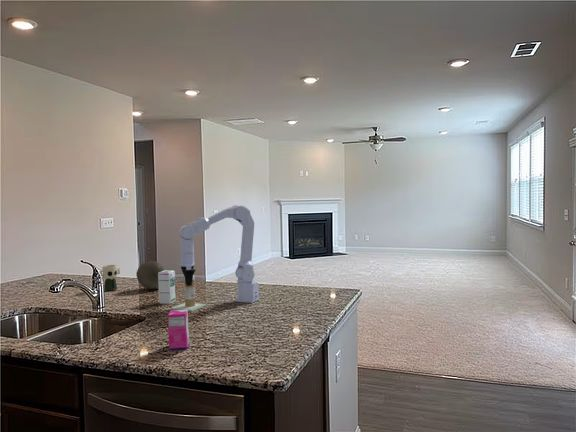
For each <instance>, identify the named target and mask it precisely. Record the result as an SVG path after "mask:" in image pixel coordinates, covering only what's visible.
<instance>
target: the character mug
mask: <svg viewBox="0 0 576 432" xmlns="http://www.w3.org/2000/svg"><path fill="white" fill-rule="evenodd" d="M120 272H121V269H120V267H118V265H117V264H106V265H103V266H102V270H100V271H99V275H100V274H101V276H102V277H103V278H104V279H105V280H104V286H103V289H104V290H105V291H108V290H109V291H114V290H117V289H118V286H117V280H116V278H117V277H118V275H119V274H121V273H120ZM102 277H101V278H102ZM113 289H114V290H113Z"/></svg>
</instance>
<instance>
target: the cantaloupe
mask: <svg viewBox="0 0 576 432" xmlns="http://www.w3.org/2000/svg"><path fill="white" fill-rule="evenodd" d="M164 270H165V269H164V266H162V264H161V263H160V262H159V261H158V262H157V261H155V260H149V261H145V262H142V263H141V264H140V265H139V266H138V268H137V270H136V275H135V276H136V279H137V281H138V283H139V284H140V285H141V287H143V288H145V289H146V290H147V289H148V290H156V289H159V283H158V273H159V272H162V271H164Z"/></svg>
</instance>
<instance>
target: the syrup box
mask: <svg viewBox="0 0 576 432" xmlns="http://www.w3.org/2000/svg"><path fill="white" fill-rule="evenodd" d="M158 283H159V288H158V300H159V302H158V303H159V304H164V305H167V304H168V305H169V304H172V303H175V302H177V292H176V291H177V290H176V270H173V269H171V270H170V269H169V270H167V269H166V270H165V269H164V271H162V272H159V273H158Z"/></svg>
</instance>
